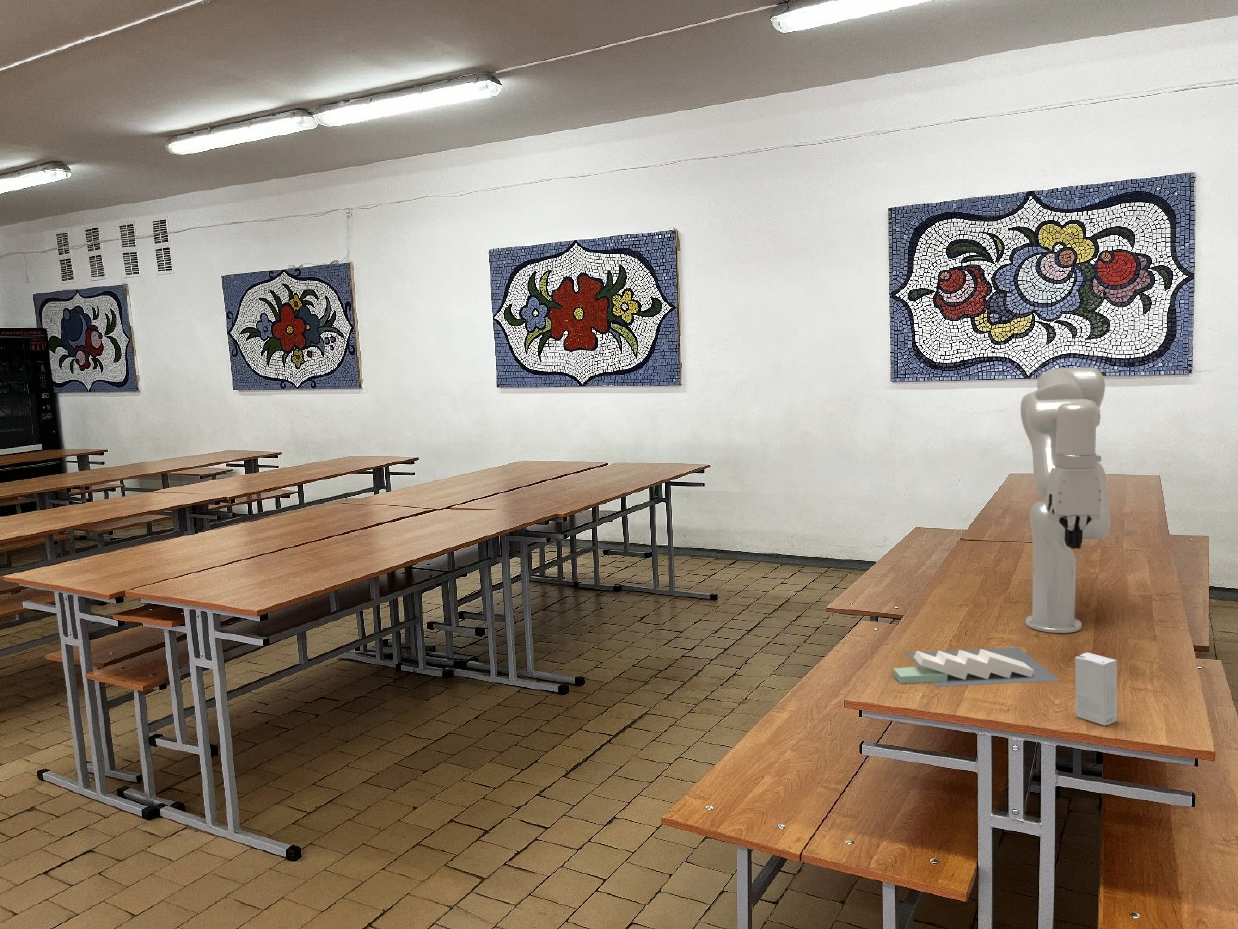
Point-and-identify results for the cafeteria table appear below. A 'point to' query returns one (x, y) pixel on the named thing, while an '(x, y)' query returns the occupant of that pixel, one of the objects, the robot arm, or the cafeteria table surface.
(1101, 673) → the skincare box
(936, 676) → the domino end
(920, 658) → the domino
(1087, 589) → the cafeteria table surface
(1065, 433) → the robot arm
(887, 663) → the cafeteria table surface
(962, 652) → the domino
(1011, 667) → the domino
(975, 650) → the slate mat
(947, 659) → the domino
